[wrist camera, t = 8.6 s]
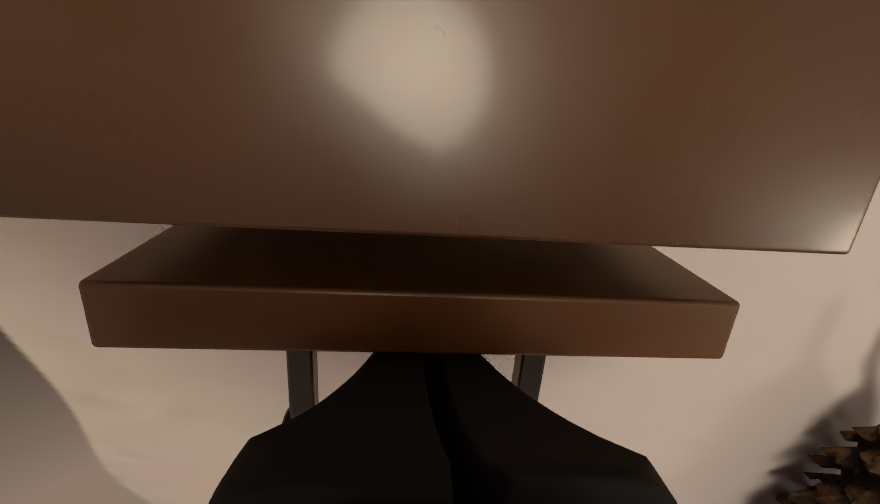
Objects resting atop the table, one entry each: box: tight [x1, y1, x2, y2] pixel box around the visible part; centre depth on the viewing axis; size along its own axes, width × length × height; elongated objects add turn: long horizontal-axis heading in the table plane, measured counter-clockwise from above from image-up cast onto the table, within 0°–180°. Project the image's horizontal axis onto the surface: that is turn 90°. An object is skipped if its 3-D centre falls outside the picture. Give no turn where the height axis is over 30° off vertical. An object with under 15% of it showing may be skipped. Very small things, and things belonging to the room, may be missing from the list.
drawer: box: [79, 225, 740, 424], centre depth 10 cm, size 17×11×7 cm, turn 176°
